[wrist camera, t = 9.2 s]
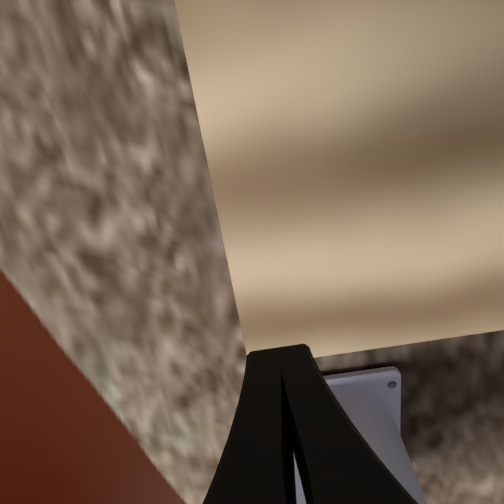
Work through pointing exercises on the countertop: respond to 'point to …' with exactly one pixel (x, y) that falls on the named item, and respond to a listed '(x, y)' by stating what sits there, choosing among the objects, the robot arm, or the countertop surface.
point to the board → (354, 165)
